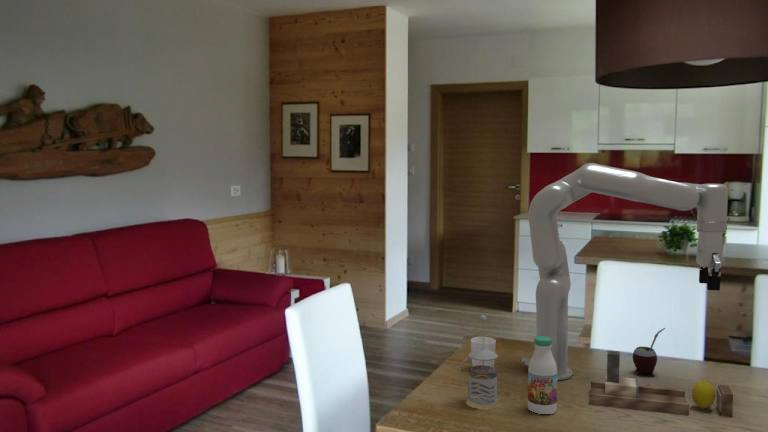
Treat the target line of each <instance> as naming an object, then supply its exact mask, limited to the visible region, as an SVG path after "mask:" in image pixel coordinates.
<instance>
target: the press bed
mask: <svg viewBox="0 0 768 432" xmlns="http://www.w3.org/2000/svg"><path fill="white" fill-rule="evenodd" d="M638 386H639V393H638V398H632V397H622V396H613V395H605V382H603V381H592V380H590V389H589V405H594V406H603V407H612V408H621V409H631V410H638V411H639V410H640V411H647V412H648V411H650V412H657V413H666V414H674V415H675V414H676V415H684V416H689V415H690V403H688V402H687V399H686V390H685V389H675V388H666V387H665V388H664V387H656V386H655V387H653V386H647V385H646V386H645V385H638Z"/></svg>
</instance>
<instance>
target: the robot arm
mask: <svg viewBox="0 0 768 432" xmlns="http://www.w3.org/2000/svg"><path fill="white" fill-rule="evenodd" d="M591 193H596V194H599V195H604V196H609V197H616V198H619V199H623V200H628V201H632V202H639V203H644V204H650V205H654V206H657V207H663V208H668V209H673V210H677V211H683V212H684V211H685V212H686V211H690V210H692V209H694V208H697V209H696V210H697V212H696V213H697V215H696V216H697V217H696V218H697V219H696V233H698V237H697V246H696V247H697V249H696V258H695V259H696V260H695V261H696V264H697V265H699V271H698V272H699V273H698V282H699V284H706V290H707V291H719V292H720V290H721V276H722V275H721V268H722V266H723V258H724V257H723V256H724V253H723V251H724V246H723V245H724V244H723V243H724V240H723V238H724V236H723V234H727V222H728V198H729V197H728V196H729V189H728V186H727V185H726V184H723V183H703V184H699V183H690V182H678V181H672V180H667V179H663V178H659V177H653V176H650V175H647V174H645V173H642V172H639V171H636V170H630V169H624V168H619V167H614V166H609V165H603V164H598V163H596V162H589V163H588V162H587V163H585V164H583V165H581V166H580V167H579V168H577V169H576V170H574V171H573V172H571V173H569V174H567V175H565V176H563V178H561V179H558V180H556V181H555V182H552V183H550V184H548V185H547V186H544V188H542V189H541V190H540V191H538V192H537V193H536V194H535V195H534V196H533V198H532V200H531V202H530V204H529V208H528V226H529V234H530V242H531V249H532V250H531V251H532V259H533V262H534V264H535V266H537V268H538V269H537V270H538V276H539V280H538V283H537V284H536V289H535V304H536V305H535V306H536V307H535V310H536V313H535V315H536V318H535V319H536V320H535V321H536V323H535V325H536V329H535V330H536V333H535V334H536V336H535V337H537V336H547V337H550V338H551V339H552V347H551V352H552V355H553V358H554V360H555V362H556V366H557V381H563V380H569V379H571V378H572V376H573V370H572V369H571V368H569V367H568V350H569V349H568V346H569V344H568V343H569V340H568V338H569V331H568V330H569V293H570V290H571V284H572V283H571V278H570V269H569V262H568V256H567V251H566V246H565V244H564V243H563V242H562V240H561V239H560V233H559V227H558V226H559V225H558V221H557V217H558V213H559V212H560V211H561V210H564V209H566V208H567V207H568V206H570V205H571V204H573V203H575V202H576V201H578V200H580V199H583V198H585V197H586V196H588V195H589V194H591ZM530 360H531V358H524V357H521V365H524V367H529V363H530Z"/></svg>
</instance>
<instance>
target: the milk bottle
mask: <svg viewBox="0 0 768 432" xmlns="http://www.w3.org/2000/svg"><path fill="white" fill-rule="evenodd" d="M533 339H534V340H533V346H534V351H533V353H532V356H531V358H530V359H531V360H530V363H529V366H528V369H527V370H528V371H527V409H528V410H530V411H529V412H531V411H532V412H531V413H533V412H535V413H538V414H537V415H540V414H550V415H553V414H555V413H557V411H558V410H557V409H558V380H557V366H556V362H555V360H554V358H553V355H552V352H551V347H552V339H551V338H550V337H547V336H537V337H536V336H535V337H534V338H533ZM535 413H534V414H535Z"/></svg>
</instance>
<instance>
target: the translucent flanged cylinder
mask: <svg viewBox="0 0 768 432" xmlns="http://www.w3.org/2000/svg"><path fill="white" fill-rule="evenodd" d="M496 342H497V341H496V339H494V337H493V338H492V337H489V336H484V349H488V350H491V351H493V352H494V353H496V346H497V343H496ZM470 348H471V349H470V350H471V351H470V352H472V351H474V350H477V349H483V336H476V337H472V338H470ZM495 360H496V359H495ZM495 360H492V361H484V366H490V367H493V368H495ZM471 363H472V364H471V365H472V367H473V366H480V365H483V361H479V360H474V359H471Z"/></svg>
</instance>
